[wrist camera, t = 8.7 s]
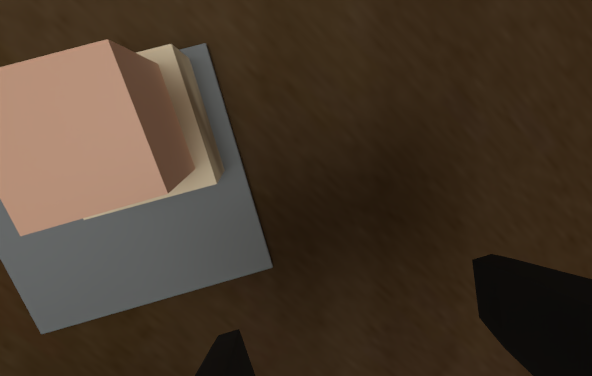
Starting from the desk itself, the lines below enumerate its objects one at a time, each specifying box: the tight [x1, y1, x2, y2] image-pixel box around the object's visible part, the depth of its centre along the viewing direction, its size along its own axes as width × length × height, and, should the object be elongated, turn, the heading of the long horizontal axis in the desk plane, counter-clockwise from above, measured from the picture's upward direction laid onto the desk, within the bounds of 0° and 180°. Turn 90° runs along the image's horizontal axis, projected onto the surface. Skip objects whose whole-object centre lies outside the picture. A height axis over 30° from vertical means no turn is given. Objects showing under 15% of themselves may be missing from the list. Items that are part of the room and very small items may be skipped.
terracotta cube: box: [0, 39, 195, 236], centre depth 11 cm, size 4×4×4 cm
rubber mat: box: [0, 43, 273, 334], centre depth 18 cm, size 13×14×1 cm
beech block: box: [83, 44, 225, 220], centre depth 15 cm, size 6×6×4 cm
